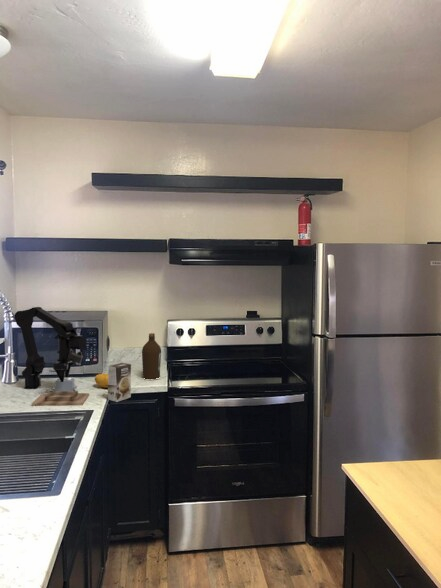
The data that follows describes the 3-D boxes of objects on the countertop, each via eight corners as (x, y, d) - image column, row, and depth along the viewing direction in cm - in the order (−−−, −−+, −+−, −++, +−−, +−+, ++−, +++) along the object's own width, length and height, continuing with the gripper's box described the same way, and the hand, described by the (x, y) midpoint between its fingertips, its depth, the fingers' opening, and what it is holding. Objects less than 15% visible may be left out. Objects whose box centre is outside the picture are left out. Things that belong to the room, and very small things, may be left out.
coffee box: (117, 402, 200) (117, 367, 199) (107, 399, 204) (107, 365, 203) (131, 397, 208) (131, 363, 207) (121, 394, 211) (121, 362, 210)
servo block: (52, 393, 212) (51, 379, 212) (54, 390, 217) (54, 377, 216) (75, 392, 213) (75, 379, 213) (77, 390, 218) (77, 376, 217)
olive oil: (142, 380, 237) (142, 335, 235) (141, 375, 247) (141, 332, 246) (161, 380, 239) (162, 335, 238) (160, 375, 250) (160, 332, 248)
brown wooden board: (31, 405, 193) (31, 399, 192) (42, 395, 208) (42, 389, 207) (82, 405, 195) (82, 398, 195) (89, 395, 210) (89, 389, 210)
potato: (101, 384, 229) (101, 371, 228) (124, 387, 223) (124, 374, 223) (92, 387, 222) (92, 374, 222) (115, 391, 217) (115, 377, 216)
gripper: (77, 352, 205) (77, 384, 206) (85, 344, 223) (85, 374, 225) (52, 351, 204) (52, 384, 205) (63, 344, 222) (63, 374, 223)
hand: (64, 379), depth 215 cm, fingers open, 9 cm apart
